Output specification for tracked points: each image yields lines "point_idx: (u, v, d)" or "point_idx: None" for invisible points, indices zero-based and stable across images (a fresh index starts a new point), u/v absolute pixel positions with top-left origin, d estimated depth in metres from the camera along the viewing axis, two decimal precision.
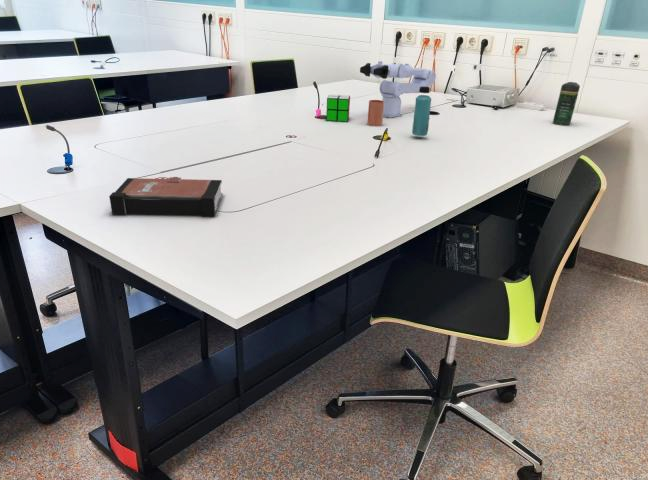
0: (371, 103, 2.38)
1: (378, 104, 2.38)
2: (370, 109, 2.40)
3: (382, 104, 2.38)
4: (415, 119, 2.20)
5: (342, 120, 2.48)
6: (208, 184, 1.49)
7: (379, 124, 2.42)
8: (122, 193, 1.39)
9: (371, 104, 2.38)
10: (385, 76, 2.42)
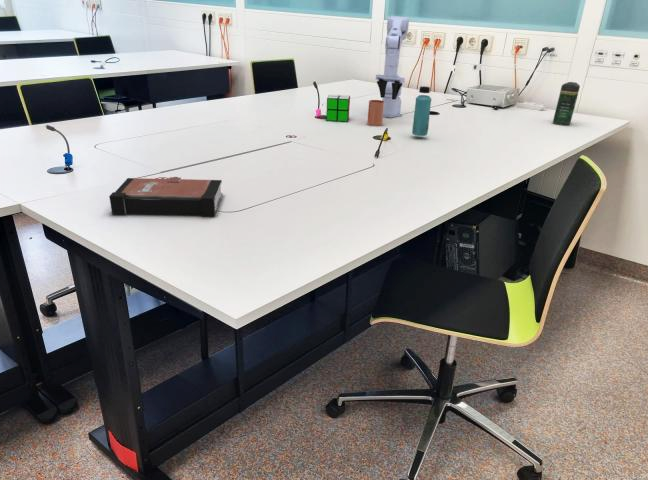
0: (371, 103, 2.38)
1: (378, 104, 2.38)
2: (370, 109, 2.40)
3: (382, 104, 2.38)
4: (415, 119, 2.20)
5: (342, 120, 2.48)
6: (208, 184, 1.49)
7: (379, 124, 2.42)
8: (122, 193, 1.39)
9: (371, 104, 2.38)
10: (401, 85, 2.40)
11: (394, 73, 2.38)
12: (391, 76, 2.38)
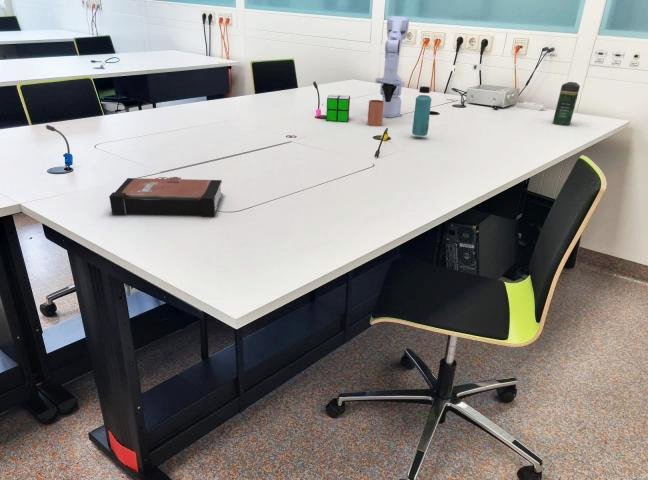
0: (371, 103, 2.38)
1: (378, 104, 2.38)
2: (370, 109, 2.40)
3: (382, 104, 2.38)
4: (415, 119, 2.20)
5: (342, 120, 2.48)
6: (208, 184, 1.49)
7: (379, 124, 2.42)
8: (122, 193, 1.39)
9: (371, 104, 2.38)
10: (395, 88, 2.43)
11: (394, 77, 2.39)
12: (391, 80, 2.39)
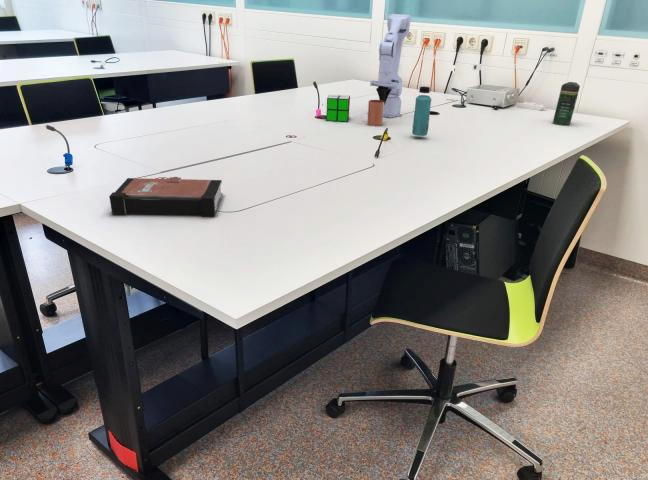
0: (371, 103, 2.38)
1: (378, 104, 2.37)
2: (370, 109, 2.40)
3: (382, 104, 2.38)
4: (415, 119, 2.20)
5: (342, 120, 2.48)
6: (208, 184, 1.49)
7: (379, 124, 2.42)
8: (122, 193, 1.39)
9: (371, 104, 2.38)
10: (390, 90, 2.41)
11: (388, 79, 2.37)
12: (385, 82, 2.37)
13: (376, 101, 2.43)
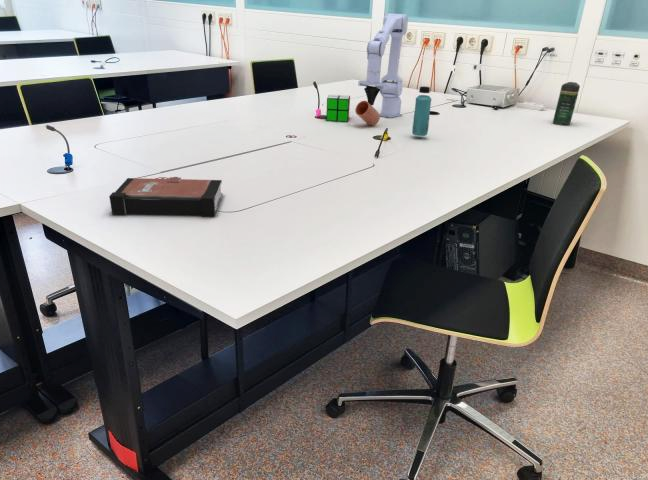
0: (359, 115, 2.35)
1: (365, 114, 2.34)
2: (361, 118, 2.38)
3: (369, 110, 2.33)
4: (415, 119, 2.20)
5: (342, 120, 2.48)
6: (208, 184, 1.49)
7: (377, 121, 2.40)
8: (122, 193, 1.39)
9: (359, 116, 2.36)
10: (378, 90, 2.35)
11: (377, 79, 2.31)
12: (373, 82, 2.31)
13: (362, 102, 2.36)
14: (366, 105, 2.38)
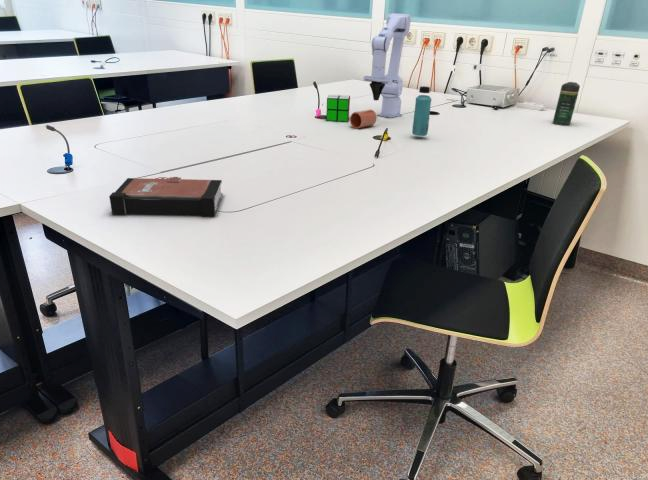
0: None
1: (361, 126, 2.35)
2: None
3: (363, 121, 2.33)
4: (415, 119, 2.20)
5: (342, 120, 2.48)
6: (208, 184, 1.49)
7: (375, 121, 2.39)
8: (122, 193, 1.39)
9: None
10: (383, 85, 2.37)
11: (382, 74, 2.33)
12: (379, 78, 2.33)
13: (354, 113, 2.35)
14: None
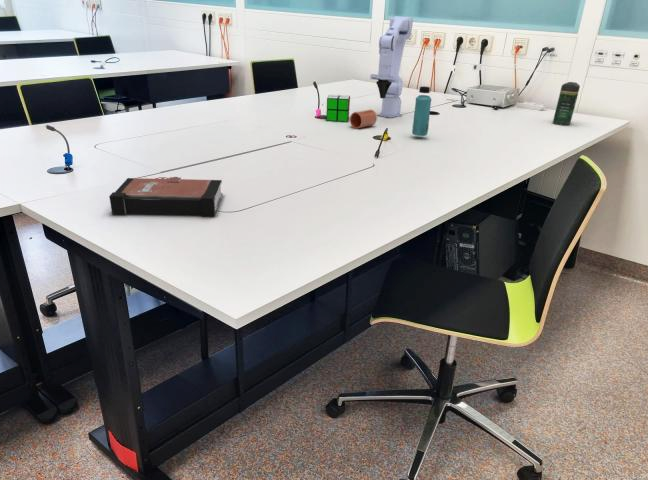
0: None
1: (361, 126, 2.35)
2: None
3: (363, 121, 2.33)
4: (415, 119, 2.20)
5: (342, 120, 2.48)
6: (208, 184, 1.49)
7: (375, 121, 2.39)
8: (122, 193, 1.39)
9: None
10: (390, 84, 2.42)
11: (388, 73, 2.38)
12: (385, 76, 2.38)
13: (354, 113, 2.35)
14: None
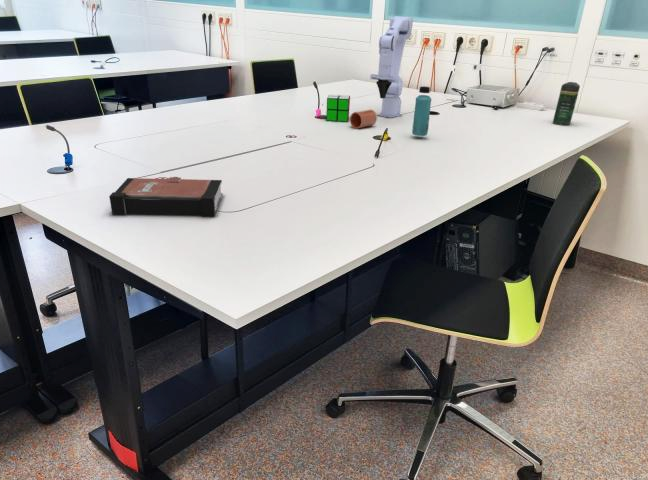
0: None
1: (361, 126, 2.35)
2: None
3: (363, 121, 2.33)
4: (415, 119, 2.20)
5: (342, 120, 2.48)
6: (208, 184, 1.49)
7: (375, 121, 2.39)
8: (122, 193, 1.39)
9: None
10: (390, 84, 2.42)
11: (388, 73, 2.38)
12: (385, 76, 2.38)
13: (354, 113, 2.35)
14: None
